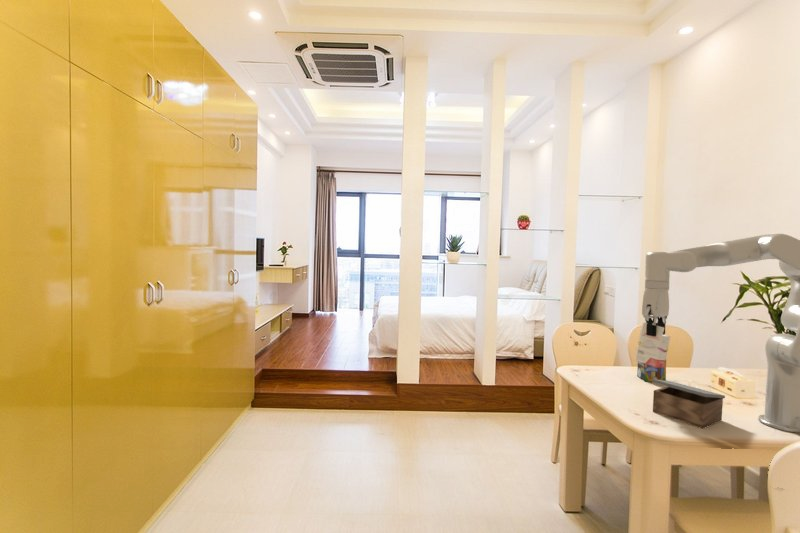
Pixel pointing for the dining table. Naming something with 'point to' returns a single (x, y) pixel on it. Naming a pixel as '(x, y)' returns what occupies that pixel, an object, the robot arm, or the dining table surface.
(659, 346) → the ink cartridge box
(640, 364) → the chalk box
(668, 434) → the dining table surface
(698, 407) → the box
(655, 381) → the lid
